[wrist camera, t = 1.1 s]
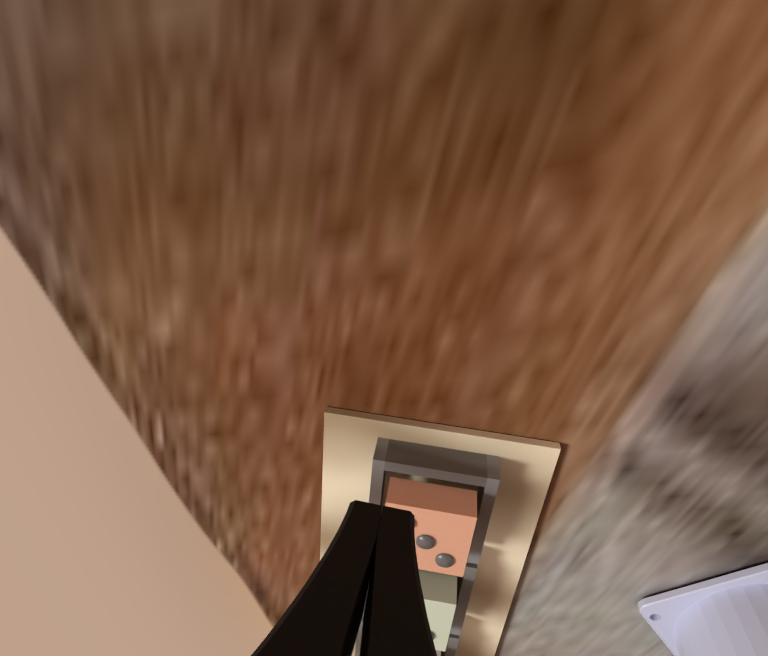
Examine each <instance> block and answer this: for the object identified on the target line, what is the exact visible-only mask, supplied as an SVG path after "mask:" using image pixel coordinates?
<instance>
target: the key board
mask: <svg viewBox="0 0 768 656" xmlns="http://www.w3.org/2000/svg"><path fill="white" fill-rule="evenodd" d="M560 450H561V448H560V443H557V442H551V441H544V440H538V439H532V438H525V437H519V436H512V435H506V434H500V433H493V432H487V431H480V430H474V429H467V428H461V427H455V426H448V425H442V424H435V423H429V422H422V421H416V420H410V419H403V418H397V417H390V416H384V415H378V414H371V413H365V412H358V411H352V410H345V409H339V408H333V407H326V410H325V414H324V447H323V481H322V514H321V548H320V560H321V559H322V557H323V555H324V554H325V552H326V550H327V549H328V547H329V545H330V543H331V542H332V540H333V538H334V536H335V535H336V533H337V531H338V529H339V527H340V525H341V523H342V521H343V519H344V516H345V514H346V512H347V509H348V507H349V504H350V502H353V501H355V500H358V501H363V502H368V503H373V504H378V505H383V506H385V503H386V497H387V492H388V487H389V481H390V477H395V478H401V479H407V480H413V481H419V482H425V483H431V484H437V485H443V486H449V487H456V488H462V489H468V490H474V491H477V521H476V525H475V529H474V533H473V538H472V542H471V546H470V550H469V554H468V559H467V563H466V567H465V571H464V575H463V577H459V576H456V577H457V601H456V609H455V613H454V617H453V621H452V625H451V630H450V634H449V638H448V642H447V646H446V650H445V652H444V651H441V656H494V655H495V652H496V649H497V646H498V643H499V640H500V637H501V634H502V631H503V627H504V624H505V621H506V618H507V615H508V612H509V609H510V606H511V603H512V599H513V596H514V593H515V590H516V587H517V584H518V581H519V578H520V575H521V572H522V568H523V565H524V562H525V559H526V556H527V553H528V550H529V547H530V544H531V540H532V537H533V534H534V531H535V528H536V525H537V522H538V519H539V516H540V513H541V509H542V506H543V503H544V500H545V497H546V494H547V491H548V488H549V485H550V481H551V478H552V475H553V472H554V469H555V466H556V463H557V460H558V457H559V453H560ZM383 506H382V508H383ZM381 513H382V512H381ZM379 524H380V523H379ZM418 570H420V569H418ZM423 571H426V570H423ZM429 572H431V571H429ZM434 573H437V572H434ZM440 574H442V573H440ZM445 575H448V574H445ZM451 576H453V575H451ZM368 586H369V585H368ZM367 592H368V591H367ZM366 597H367V596H366ZM365 603H366V602H365ZM364 609H365V607H364ZM363 616H364V612H363ZM363 616H362V620H361V624H360V627H359V631H358V635H357V638H356V642H355V645H354V649H353V653H352V656H359V655H360V645H361V635H362V625H363Z"/></svg>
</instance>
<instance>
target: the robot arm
mask: <svg viewBox="0 0 768 656" xmlns="http://www.w3.org/2000/svg"><path fill="white" fill-rule="evenodd" d="M382 506H383V505H378V504H373V503H368V502H363V501H358V500H355V501H353V502H350V504H349V507H348V509H347V512H346V514H345V516H344V519H343V521H342V523H341V525H340V527H339V529H338V531H337V533H336V535H335V536H334V538H333V540H332V542H331V543H330V545H329V547H328V549H327V550H326V552H325V554H324V555H323V557H322V559H321V560H320V562H319V563H318V565H317V566H316V568H315V570H314V571H313V573H312V574H311V576H310V577H309V579H308V581H307V582H306V584H305V585H304V587H303V588H302V589H301V591H300V592H299V594H298V595H297V596H296V598H295V599H294V601H293V602H292V603H291V605H290V606H289V607H288V609H287V610H286V612H285V613H284V614H283V616H282V617H281V619H280V620H279V621H278V623H277V624H276V625H275V626H274V628H273V629H272V630H271V632H270V633H269V634H268V635H267V637H266V638H265V639H264V641H263V642H262V643H261V644H260V646H259V647H258V648H257V649H256V650H255V652H254V653H253V654H252V655H251V656H352V653H353V649H354V645H355V642H356V638H357V635H358V631H359V627H360V624H361V620H362V616H363V612H364V616H363V625H362V635H361V645H360V655H359V656H437V653H436V649H435V646H434V642H433V638H432V634H431V630H430V625H429V621H428V617H427V612H426V607H425V602H424V597H423V592H422V587H421V582H420V576H419V570H418V562H417V555H416V546H415V532H414V515H413V514H412V512H411V511H407V510H402V509H397V508H393V507H388V506H383V508H382ZM381 512H382V513H381ZM379 523H380V524H379ZM368 585H369V586H368ZM367 591H368V592H367ZM366 596H367V597H366ZM365 602H366V603H365ZM364 607H365V609H364ZM638 608H639V611H640V614H641V615H642V616H643V617H644V618H645V620H646V621H647V622H648V623H649V625H650V626H651V627H652V628H653V630H654V631H655V632H656V633H657V635H658V636H659V637H660V638H661V640H662V641H663V642H664V643H665V645H666V646H667V647H668V648H669V649H670V651H671V652H672V653H673V654H674V656H768V563H765V564H761V565H758V566H754V567H751V568H747V569H744V570H741V571H737V572H734V573H730V574H727V575H723V576H720V577H716V578H713V579H709V580H706V581H702V582H699V583H696V584H692V585H689V586H685V587H682V588H678V589H675V590H671V591H668V592H664V593H661V594H657V595H654V596H650V597H647V598H644V599H641V600H640V601H639V602H638Z"/></svg>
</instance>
